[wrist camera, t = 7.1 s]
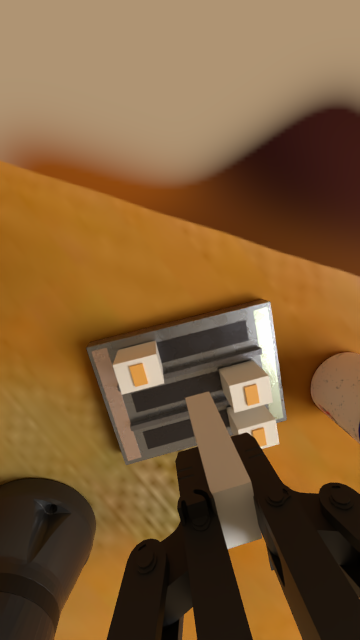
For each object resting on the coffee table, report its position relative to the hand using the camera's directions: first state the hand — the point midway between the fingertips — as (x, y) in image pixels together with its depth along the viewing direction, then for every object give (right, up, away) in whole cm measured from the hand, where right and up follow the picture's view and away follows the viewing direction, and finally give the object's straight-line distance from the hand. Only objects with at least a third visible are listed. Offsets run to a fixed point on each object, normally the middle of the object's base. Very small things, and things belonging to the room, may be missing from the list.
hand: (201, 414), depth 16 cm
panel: (0, -1, +15) cm, 15 cm away
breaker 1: (-5, +2, +11) cm, 13 cm away
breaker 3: (+6, -5, +14) cm, 17 cm away
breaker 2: (+5, -1, +13) cm, 14 cm away
